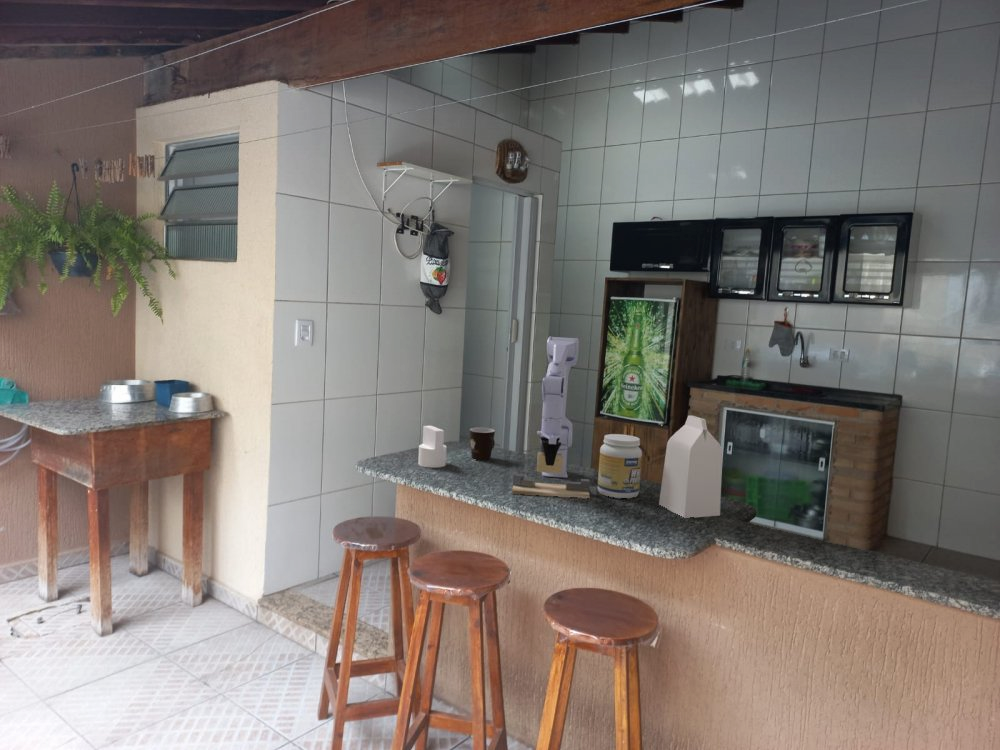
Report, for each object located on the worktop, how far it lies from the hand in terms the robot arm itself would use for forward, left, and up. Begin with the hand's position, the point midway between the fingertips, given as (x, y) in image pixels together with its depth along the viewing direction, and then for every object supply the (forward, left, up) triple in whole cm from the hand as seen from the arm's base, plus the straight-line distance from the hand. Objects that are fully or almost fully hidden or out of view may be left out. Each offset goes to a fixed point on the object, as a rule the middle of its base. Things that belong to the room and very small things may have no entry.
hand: (549, 463), depth 202 cm
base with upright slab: (-24, -37, -9) cm, 45 cm away
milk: (+10, +39, -9) cm, 41 cm away
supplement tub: (-2, +21, -9) cm, 23 cm away
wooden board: (0, +1, -8) cm, 8 cm away
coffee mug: (-34, -22, -9) cm, 41 cm away
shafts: (-1, +1, -7) cm, 8 cm away
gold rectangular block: (0, 0, -2) cm, 2 cm away
